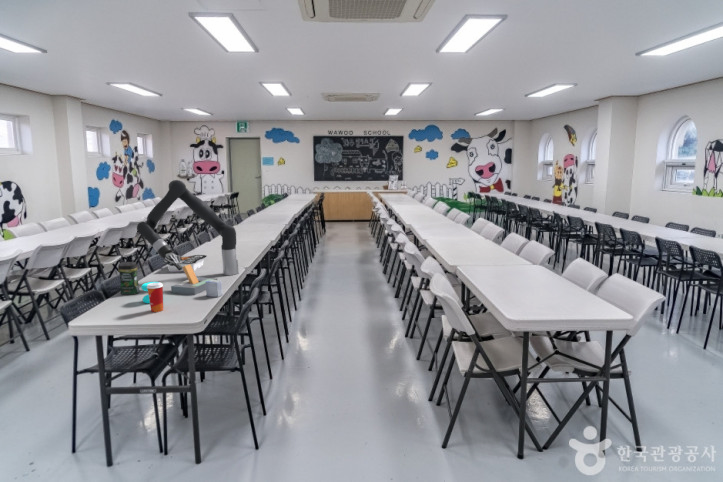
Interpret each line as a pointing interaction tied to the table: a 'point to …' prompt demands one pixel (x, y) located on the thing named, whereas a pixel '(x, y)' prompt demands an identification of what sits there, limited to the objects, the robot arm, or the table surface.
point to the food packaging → (189, 262)
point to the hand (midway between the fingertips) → (181, 269)
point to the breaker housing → (191, 286)
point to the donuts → (144, 287)
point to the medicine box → (214, 288)
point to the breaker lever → (190, 274)
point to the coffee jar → (128, 278)
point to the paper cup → (155, 296)
